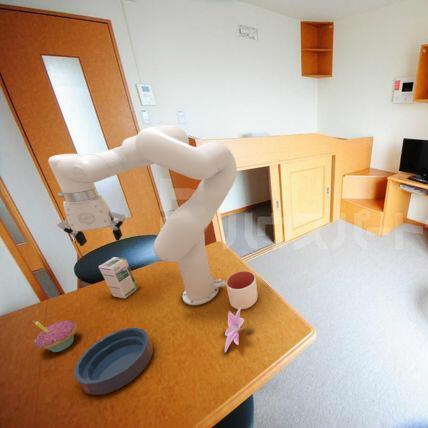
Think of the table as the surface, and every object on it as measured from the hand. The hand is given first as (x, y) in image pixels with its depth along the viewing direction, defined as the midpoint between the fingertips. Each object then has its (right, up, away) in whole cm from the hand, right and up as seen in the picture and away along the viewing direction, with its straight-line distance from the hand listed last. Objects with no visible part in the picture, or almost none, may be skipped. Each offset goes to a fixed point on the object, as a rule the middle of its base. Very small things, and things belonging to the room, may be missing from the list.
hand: (101, 241), depth 82 cm
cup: (+47, -23, +7) cm, 53 cm away
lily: (+49, -30, -6) cm, 58 cm away
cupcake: (-3, -30, -9) cm, 32 cm away
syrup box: (0, -21, +10) cm, 24 cm away
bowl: (+19, -33, -15) cm, 41 cm away
